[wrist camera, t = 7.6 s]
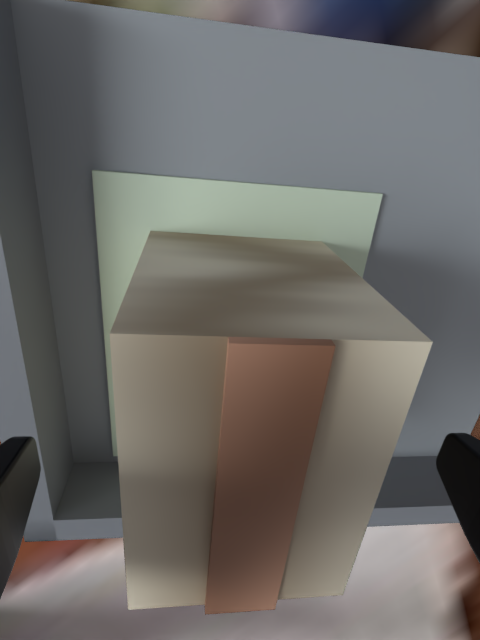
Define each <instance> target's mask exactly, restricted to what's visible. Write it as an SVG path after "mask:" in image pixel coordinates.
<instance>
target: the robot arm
mask: <svg viewBox="0 0 480 640" xmlns="http://www.w3.org/2000/svg"><path fill="white" fill-rule="evenodd" d="M436 467H437V471H438V473H439V475H440V478H441V480H442V483H443V485H444V487H445V490H446V492H447V494H448V497H449V499H450V501H451V504H452V506H453V509H454V511H455V513H456V516H457V518H458V520H459V523H460V525H461V527H462V529H463V532H464V534H465V536H466V538H467V540H468V542H469V544H470V546H471V548H472V550H473V551H474V553H475V555H476V557H477V559H478V561H479V563H480V440H478V439H476V438H475V437H473V436H471V435H469V434H467V433H449V434H448V435H446V437H445V439H444V441H443V443H442V446H441V448H440V450H439V453H438V455H437V458H436ZM40 472H41V465H40V460H39V455H38V449H37V444H36V440H35V439H34V438H33V437H31V436H14V437H11V438H9V439H7V440H6V441H5V442H3V443H2V444H1V445H0V598H1V596H2V593H3V591H4V588H5V586H6V583H7V581H8V578H9V576H10V573H11V571H12V568H13V566H14V563H15V560H16V558H17V555H18V551H19V548H20V545H21V542H22V538H23V535H24V531H25V528H26V524H27V520H28V517H29V513H30V510H31V506H32V503H33V499H34V496H35V492H36V489H37V485H38V482H39V478H40Z"/></svg>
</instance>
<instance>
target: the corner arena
mask: <svg viewBox="0 0 480 640" xmlns="http://www.w3.org/2000/svg"><path fill="white" fill-rule="evenodd" d="M150 231H161V232H177V233H193V234H209V235H225V236H241V237H257V238H274V239H290V240H306V241H322V242H323V243H324V244H325V245H326V246H327V247H329V248H330V249H331V250H332V251H333V252H334V253H335V254H336V255H337V256H338V257H340V258H341V259H342V260H343V261H344V262H345V263H346V264H347V265H348V266H350V267H351V268H352V269H353V270H354V271H355V272H356V273H357V274H358V275H359V276H361V277H362V278H363V279H364V280H365V281H366V282H367V283H368V284H369V285H371V286H372V287H373V288H374V289H375V290H376V291H377V292H378V293H379V294H380V295H382V296H383V297H384V298H385V299H386V300H387V301H388V302H389V303H390V304H391V305H393V306H394V307H395V308H396V309H397V310H398V311H399V312H400V313H401V314H403V315H404V316H405V317H406V318H407V319H408V320H409V321H410V322H411V323H412V324H414V325H415V326H416V327H417V328H418V329H419V330H420V331H421V332H422V333H424V334H425V335H426V336H427V337H428V338H429V339H430V340H431V341H432V342H433V343H432V346H431V349H430V352H429V354H428V357H427V360H426V363H425V366H424V368H423V371H422V374H421V377H420V380H419V382H418V385H417V388H416V391H415V394H414V396H413V399H412V402H411V405H410V408H409V410H408V413H407V416H406V419H405V422H404V424H403V427H402V430H401V433H400V436H399V438H398V441H397V444H396V447H395V450H394V452H393V455H392V458H391V461H390V464H389V467H388V469H387V472H386V475H385V478H384V481H383V483H382V486H381V489H380V492H379V495H378V497H377V500H376V503H375V506H374V509H373V511H372V514H371V517H370V520H369V523H368V525H367V527H372V526H394V525H417V524H439V523H459V520H458V518H457V516H456V513H455V511H454V509H453V506H452V504H451V501H450V499H449V497H448V494H447V492H446V490H445V487H444V485H443V483H442V480H441V478H440V475H439V473H438V471H437V467H436V458H437V455H438V453H439V450H440V448H441V446H442V443H443V441H444V439H445V437H446V435H448V434H449V433H467V434H469V435H470V434H471V432H472V430H473V427H474V425H475V423H476V421H477V419H478V417H479V414H480V57H473V56H465V55H458V54H451V53H444V52H436V51H429V50H422V49H415V48H407V47H400V46H393V45H386V44H378V43H371V42H364V41H357V40H349V39H342V38H335V37H327V36H320V35H313V34H306V33H298V32H291V31H284V30H277V29H269V28H262V27H255V26H248V25H240V24H233V23H226V22H219V21H211V20H204V19H197V18H189V17H182V16H175V15H168V14H160V13H153V12H146V11H139V10H131V9H124V8H117V7H110V6H102V5H95V4H88V3H81V2H73V1H66V0H0V440H1V444H2V443H3V442H5V441H6V440H7V439H9V438H11V437H14V436H31V437H33V438H34V439H35V440H36V444H37V449H38V455H39V460H40V465H41V472H40V478H39V482H38V485H37V489H36V492H35V496H34V499H33V503H32V506H31V510H30V513H29V517H28V520H27V524H26V528H25V531H24V539H25V542H32V541H54V540H77V539H100V538H122V537H123V526H122V512H121V497H120V482H119V467H118V452H117V437H116V422H115V408H114V393H113V378H112V363H111V348H110V331H111V329H112V326H113V324H114V321H115V319H116V316H117V314H118V311H119V309H120V306H121V304H122V301H123V298H124V296H125V293H126V291H127V288H128V286H129V283H130V281H131V278H132V276H133V273H134V271H135V268H136V266H137V263H138V261H139V258H140V256H141V253H142V251H143V248H144V246H145V243H146V241H147V238H148V236H149V233H150Z"/></svg>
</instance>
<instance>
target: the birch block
mask: <svg viewBox="0 0 480 640" xmlns="http://www.w3.org/2000/svg"><path fill="white" fill-rule="evenodd" d="M432 343H433V342H432V341H431V340H430V339H429V338H428V337H427V336H426V335H425V334H424V333H422V332H421V331H420V330H419V329H418V328H417V327H416V326H415V325H414V324H412V323H411V322H410V321H409V320H408V319H407V318H406V317H405V316H404V315H403V314H401V313H400V312H399V311H398V310H397V309H396V308H395V307H394V306H393V305H391V304H390V303H389V302H388V301H387V300H386V299H385V298H384V297H383V296H382V295H380V294H379V293H378V292H377V291H376V290H375V289H374V288H373V287H372V286H371V285H369V284H368V283H367V282H366V281H365V280H364V279H363V278H362V277H361V276H359V275H358V274H357V273H356V272H355V271H354V270H353V269H352V268H351V267H350V266H348V265H347V264H346V263H345V262H344V261H343V260H342V259H341V258H340V257H338V256H337V255H336V254H335V253H334V252H333V251H332V250H331V249H330V248H329V247H327V246H326V245H325V244H324V243H323V242H322V241H306V240H290V239H274V238H257V237H241V236H225V235H209V234H193V233H177V232H161V231H150V233H149V236H148V238H147V241H146V243H145V246H144V248H143V251H142V253H141V256H140V258H139V261H138V263H137V266H136V268H135V271H134V273H133V276H132V278H131V281H130V283H129V286H128V288H127V291H126V293H125V296H124V298H123V301H122V304H121V306H120V309H119V311H118V314H117V316H116V319H115V321H114V324H113V326H112V329H111V331H110V348H111V363H112V378H113V393H114V408H115V422H116V437H117V452H118V467H119V482H120V497H121V512H122V526H123V541H124V556H125V571H126V586H127V601H128V610H134V609H149V608H163V607H178V606H192V605H205V614H219V613H232V612H246V611H260V610H274V609H275V607H276V603H277V600H279V599H294V598H308V597H323V596H337V595H343V593H344V590H345V587H346V584H347V581H348V579H349V576H350V573H351V570H352V567H353V565H354V562H355V559H356V556H357V553H358V551H359V548H360V545H361V542H362V539H363V537H364V534H365V531H366V528H367V525H368V523H369V520H370V517H371V514H372V511H373V509H374V506H375V503H376V500H377V497H378V495H379V492H380V489H381V486H382V483H383V481H384V478H385V475H386V472H387V469H388V467H389V464H390V461H391V458H392V455H393V452H394V450H395V447H396V444H397V441H398V438H399V436H400V433H401V430H402V427H403V424H404V422H405V419H406V416H407V413H408V410H409V408H410V405H411V402H412V399H413V396H414V394H415V391H416V388H417V385H418V382H419V380H420V377H421V374H422V371H423V368H424V366H425V363H426V360H427V357H428V354H429V352H430V349H431V346H432Z"/></svg>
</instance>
